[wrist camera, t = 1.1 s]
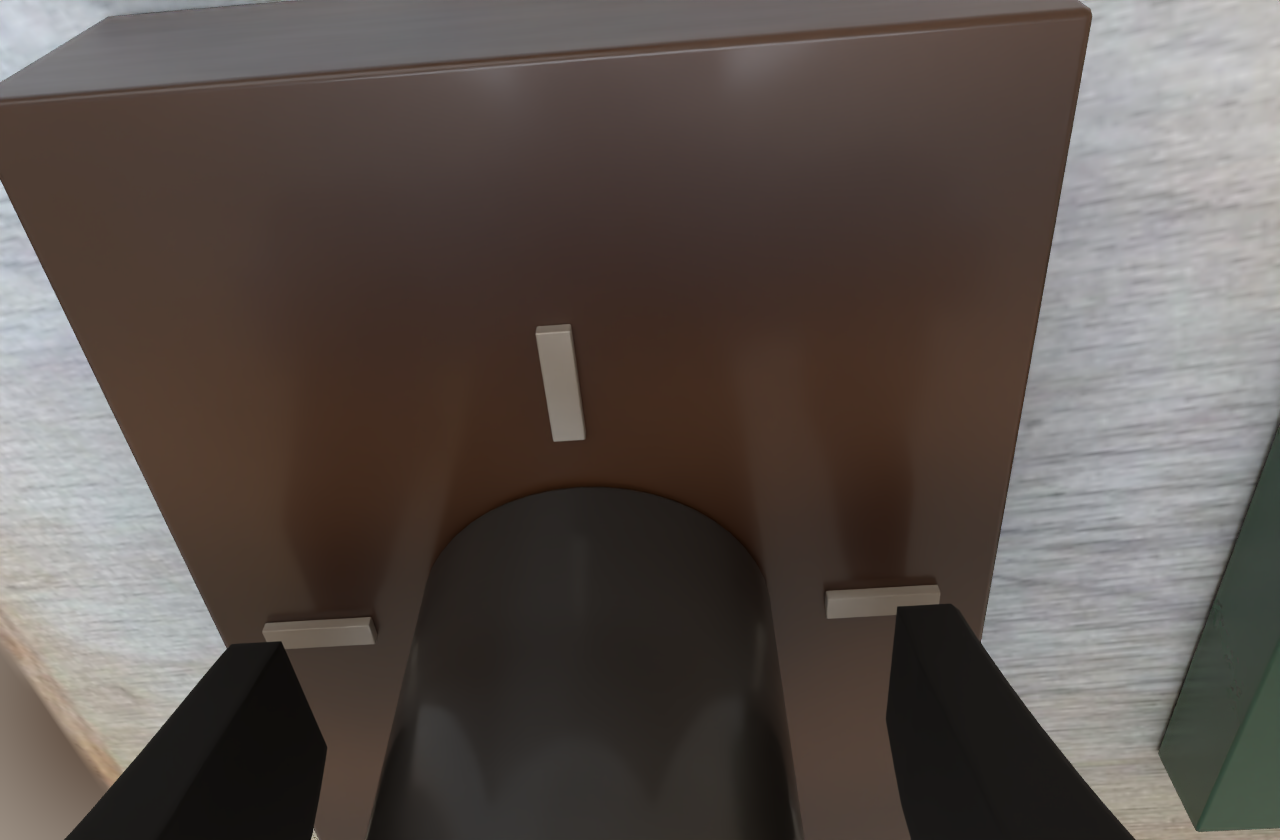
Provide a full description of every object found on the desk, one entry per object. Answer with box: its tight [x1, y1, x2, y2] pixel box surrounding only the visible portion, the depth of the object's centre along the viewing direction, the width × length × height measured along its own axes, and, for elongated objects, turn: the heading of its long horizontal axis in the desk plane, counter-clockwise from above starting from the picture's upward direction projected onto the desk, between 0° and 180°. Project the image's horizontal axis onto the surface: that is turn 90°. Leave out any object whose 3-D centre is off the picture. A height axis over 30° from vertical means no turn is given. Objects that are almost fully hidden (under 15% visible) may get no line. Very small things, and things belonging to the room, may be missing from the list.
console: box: [0, 0, 1092, 840], centre depth 14 cm, size 14×10×3 cm
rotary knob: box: [365, 487, 805, 840], centre depth 11 cm, size 4×4×5 cm
